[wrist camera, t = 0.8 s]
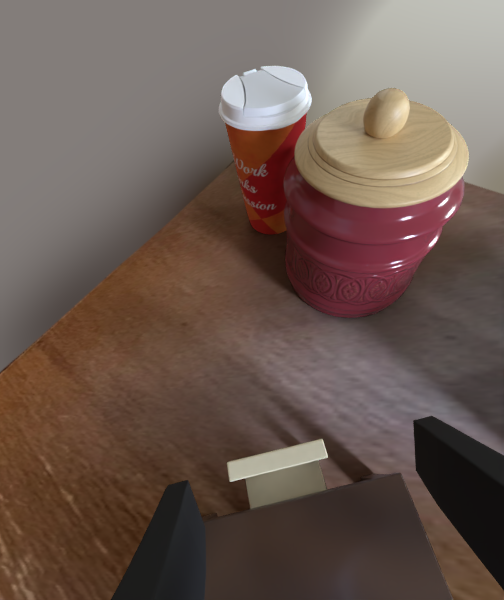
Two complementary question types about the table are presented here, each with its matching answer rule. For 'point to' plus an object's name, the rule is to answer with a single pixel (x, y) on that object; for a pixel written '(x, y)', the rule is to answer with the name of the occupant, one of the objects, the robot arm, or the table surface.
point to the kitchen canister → (369, 201)
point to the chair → (281, 473)
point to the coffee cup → (264, 137)
